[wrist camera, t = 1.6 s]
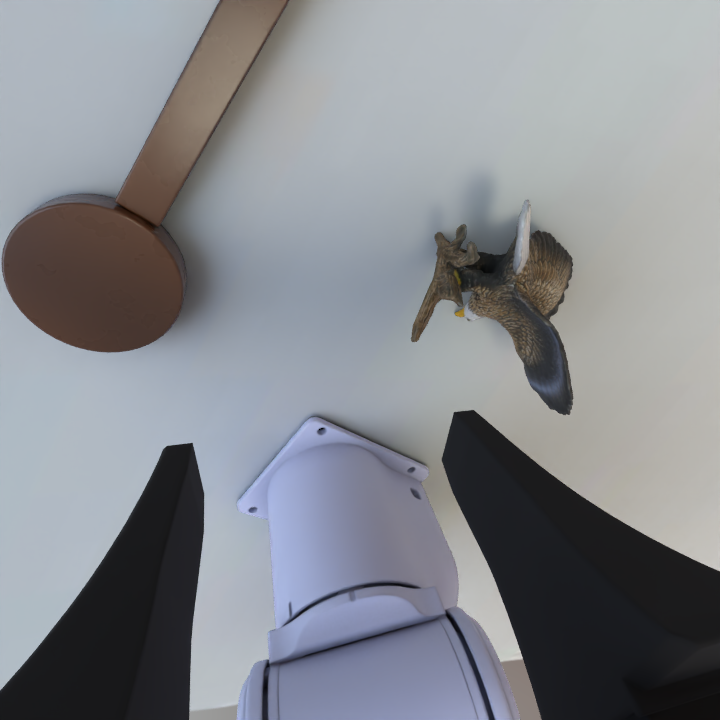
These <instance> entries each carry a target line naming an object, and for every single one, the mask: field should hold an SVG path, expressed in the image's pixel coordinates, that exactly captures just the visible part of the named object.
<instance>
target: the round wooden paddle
mask: <svg viewBox="0 0 720 720" xmlns="http://www.w3.org/2000/svg"><path fill="white" fill-rule="evenodd" d="M288 2H289V0H220V1H219V3H218V5H217V7H216V9H215V11H214V12H213V14H212V16H211V18H210V20H209V22H208V24H207V26H206V28H205V30H204V32H203V33H202V35H201V37H200V39H199V41H198V43H197V45H196V47H195V49H194V51H193V53H192V54H191V56H190V58H189V60H188V62H187V64H186V66H185V68H184V70H183V72H182V74H181V75H180V77H179V79H178V81H177V83H176V85H175V87H174V89H173V91H172V93H171V94H170V96H169V98H168V100H167V102H166V104H165V106H164V108H163V110H162V112H161V114H160V115H159V117H158V119H157V121H156V123H155V125H154V127H153V129H152V131H151V133H150V135H149V136H148V138H147V140H146V142H145V144H144V146H143V148H142V150H141V152H140V154H139V156H138V157H137V159H136V161H135V163H134V165H133V167H132V169H131V171H130V173H129V175H128V176H127V178H126V180H125V182H124V184H123V186H122V188H121V190H120V192H119V194H118V196H117V197H116V199H115V198H111V197H107V196H102V195H96V194H74V195H67V196H63V197H58V198H56V199H53V200H51V201H48V202H46V203H45V204H43V205H41V206H40V207H38V208H37V209H35V210H34V211H33V212H31V213H30V214H28V215H27V216H26V217H25V218H23V219H22V220H21V221H20V222H18V224H17V225H16V226H15V227H14V228H13V229H12V231H11V232H10V234H9V236H8V238H7V239H6V242H5V245H4V248H3V253H2V272H3V277H4V281H5V284H6V287H7V289H8V292H9V294H10V295H11V297H12V299H13V301H14V302H15V304H16V305H17V307H18V308H19V309H20V311H21V312H22V313H23V314H24V315H25V316H26V317H27V318H28V319H29V320H30V321H31V322H32V323H33V324H34V325H36V326H37V327H38V328H40V329H41V330H42V331H44V332H45V333H47V334H49V335H50V336H52V337H54V338H55V339H58V340H60V341H62V342H64V343H66V344H69V345H72V346H75V347H78V348H82V349H86V350H91V351H97V352H123V351H130V350H134V349H138V348H141V347H143V346H146V345H148V344H150V343H152V342H154V341H156V340H157V339H159V338H160V337H161V336H163V335H164V334H165V333H166V332H167V331H168V330H169V329H170V328H171V327H172V326H173V324H174V323H175V321H176V320H177V318H178V316H179V314H180V311H181V308H182V305H183V300H184V296H185V291H186V285H187V275H186V268H185V264H184V260H183V257H182V255H181V253H180V250H179V249H178V247H177V245H176V243H175V242H174V240H173V239H172V237H171V236H170V235H169V234H168V232H167V231H166V230H165V229H164V228H163V227H162V226H161V225H160V224H161V223H162V221H163V219H164V218H165V216H166V214H167V212H168V211H169V209H170V207H171V205H172V204H173V202H174V200H175V198H176V197H177V195H178V193H179V191H180V190H181V188H182V186H183V184H184V183H185V181H186V179H187V178H188V176H189V174H190V172H191V171H192V169H193V167H194V165H195V164H196V162H197V160H198V158H199V157H200V155H201V153H202V151H203V150H204V148H205V146H206V145H207V143H208V141H209V139H210V138H211V136H212V134H213V132H214V131H215V129H216V127H217V125H218V124H219V122H220V120H221V118H222V117H223V115H224V113H225V112H226V110H227V108H228V106H229V105H230V103H231V101H232V99H233V98H234V96H235V94H236V92H237V91H238V89H239V87H240V85H241V84H242V82H243V80H244V78H245V77H246V75H247V73H248V72H249V70H250V68H251V66H252V65H253V63H254V61H255V59H256V58H257V56H258V54H259V52H260V51H261V49H262V47H263V45H264V44H265V42H266V40H267V39H268V37H269V35H270V33H271V32H272V30H273V28H274V26H275V25H276V23H277V21H278V19H279V18H280V16H281V14H282V12H283V11H284V9H285V7H286V6H287V4H288Z"/></svg>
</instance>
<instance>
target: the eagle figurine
mask: <svg viewBox="0 0 720 720" xmlns="http://www.w3.org/2000/svg"><path fill="white" fill-rule="evenodd" d="M530 215H531V205H530V202H529V200H525V202H524V204H523V208H522V211H521V213H520V216H519V219H518V223H517V231H516V238H515V239H514V241H513V243H512V244H511V247H510V248H509V250H508V253H507V254H503V255H493V254H487V253H484V252H477V247H476V245H475V243H473V242H471V241H470V242H468V244H467V250H464V249H460V247H461V244H462V243H463V241H464V240H465V238H466V225H465V224H463V225H461V226H459V227H458V228H457V231H456V239H455V240H454V241H452V242H451V244H450V242H449V241H447V240H446V239H445V238H444V236H443V235H442V234H441V233H440V232H438V233H436V234H435V241H436V243H437V246H438V249H437V253H436V255H437V262H436V268H435V273H434V277H433V280H432V282H431V284H430V286H429V289H428V291H427V293H426V295H425V298H424V300H423V303H422V305H421V308H420V310H419V312H418V315H417V317H416V320H415V322H414V324H413V329H412V337H411V341H412V342H417V341H418V340H419V338H420V335H421V334H422V332H423V330H424V329H425V327H426V325H427V324H428V321H429V319H430V317H431V316H432V313H433V311H434V307H435V305H436V304H437V303H438V302H439V301H440V300H441V299H446V300H451V301H454V302H455V303H456V304H457V305H458V306H460V307H462V306H463V300H462V294H461V292H467V291H473V293H472V295H471V297H470V300H469V302H468V303H467V304H466V305H465V306H464V308H463V309H462V310H460V311H458V312H455V315H456V316H459V317H465V318H467V320H468V321H473V320H476V319H480V318H482V317H488V318H492V319H495V320H497V321H498V322H499V323H500V324H501V325H502V326H503V327H504V328H506V330H507V331H508V332H509V334H510V335H511V337H512V339H513V342H514V345H515V349H516V352H517V354H518V355H519V357H520V358H521V360H522V362H523V363H524V369H525V373H526V376H527V379H528V381H529V383H530V385H531V387H532V388H533V390H535V391H536V392H537V393H538V394H539V396H540V397H541V398H542V400H543V401H544V402H545V403H546V404H547V405H548V407H549V408H550V409H553V410H556V411H557V412H558V413H559V414H563V415H566V414H568V415H570V410H571V409H572V406H571V405H573V401H572V400H573V394H572V393H573V392H572V386H571V379H570V374H569V370H568V361H567V358H566V352H565V350H564V345H563V343H562V341H561V339H560V336H559V334H558V331H557V330H556V329H555V327H554V325H553V324H552V323H551V322H550V321H549V319H550V316H553V315H555V314H556V313H557V311H558V305H559V304H561V303H562V302H563V301H564V291H565V290H566V289H567V288H568V286H569V284H568V281H569V280H570V279H571V277H572V266H573V263H572V257H571V256H570V255H569V253H568V252H567V250H564V248H563V247H562V246H561V245H560V243H557V242H556V240H555V238H554V237H552V235H551V234H550V233H546V232H540V231H539V230H538V231H535V233H532V234H531V239H529V231H530ZM459 249H460V250H459ZM464 267H466V268H468V269H464Z"/></svg>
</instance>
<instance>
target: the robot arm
mask: <svg viewBox="0 0 720 720" xmlns="http://www.w3.org/2000/svg"><path fill="white" fill-rule="evenodd" d="M320 428H324V429H323V430H318V429H320ZM442 462H443V465H444V468H445V471H446V474H447V477H448V480H449V483H450V486H451V489H452V491H453V494H454V496H455V498H456V500H457V502H458V504H459V506H460V508H461V510H462V512H463V514H464V516H465V518H466V520H467V522H468V525H469V527H470V529H471V531H472V533H473V535H474V537H475V539H476V541H477V543H478V545H479V547H480V549H481V551H482V553H483V555H484V557H485V559H486V561H487V563H488V565H489V568H490V570H491V572H492V574H493V577H494V579H495V582H496V584H497V587H498V590H499V592H500V595H501V597H502V600H503V603H504V605H505V608H506V611H507V613H508V616H509V619H510V622H511V625H512V628H513V630H514V633H515V636H516V639H517V642H518V645H519V648H520V651H521V654H522V657H523V660H524V663H525V666H526V669H527V672H528V675H529V678H530V682H531V684H532V688H533V691H534V694H535V698H536V701H537V705H538V708H539V712H540V715H541V719H542V720H720V571H717V570H715V569H713V568H711V567H708V566H706V565H704V564H701V563H699V562H697V561H695V560H693V559H691V558H689V557H687V556H685V555H683V554H681V553H679V552H677V551H675V550H673V549H671V548H669V547H667V546H665V545H663V544H661V543H659V542H657V541H655V540H653V539H651V538H650V537H648V536H646V535H644V534H642V533H641V532H639V531H637V530H635V529H634V528H632V527H630V526H628V525H627V524H625V523H623V522H621V521H620V520H618V519H616V518H615V517H613V516H611V515H610V514H608V513H606V512H605V511H603V510H602V509H600V508H599V507H597V506H596V505H594V504H592V503H591V502H589V501H588V500H586V499H585V498H583V497H582V496H580V495H579V494H577V493H576V492H575V491H573V490H572V489H570V488H569V487H567V486H566V485H565V484H563V483H562V482H561V481H559V480H558V479H557V478H555V477H554V476H553V475H551V474H550V473H549V472H547V471H546V470H545V469H543V468H542V467H541V466H540V465H538V464H537V463H536V462H535V461H533V460H532V459H531V458H530V457H528V456H527V455H526V454H525V453H524V452H522V451H521V450H520V449H519V448H518V447H516V446H515V445H514V444H513V443H512V442H510V441H509V440H508V439H507V438H506V437H505V436H503V435H502V434H501V433H500V432H499V431H498V430H496V429H495V428H494V427H493V426H492V425H491V424H489V423H488V422H487V421H486V420H485V419H484V418H482V417H481V416H480V415H479V414H478V413H476V412H475V411H474V410H469V411H461V412H454V415H453V419H452V423H451V426H450V430H449V434H448V438H447V442H446V445H445V449H444V453H443V457H442ZM428 475H429V470H428V468H427V467H426V466H425V465H423V464H420V463H418V462H416V461H414V460H412V459H409V458H407V457H405V456H403V455H401V454H398V453H396V452H394V451H392V450H389V449H387V448H385V447H383V446H381V445H378V444H376V443H374V442H372V441H369V440H367V439H365V438H363V437H361V436H358V435H356V434H354V433H352V432H349V431H347V430H345V429H343V428H341V427H338V426H336V425H334V424H332V423H329V422H327V421H325V420H323V419H321V418H318V417H312V418H309V419H308V420H307V421H306V422H305V423H304V424H303V425H302V426H301V428H300V429H299V430H298V431H297V432H296V433H295V435H294V436H293V437H292V438H291V439H290V440H289V442H288V443H287V444H286V445H285V446H284V448H283V449H282V450H281V451H280V452H279V453H278V455H277V456H276V457H275V458H274V459H273V460H272V462H271V463H270V464H269V465H268V466H267V468H266V469H265V470H264V471H263V472H262V473H261V475H260V476H259V477H258V478H257V479H256V480H255V482H254V483H253V484H252V485H251V486H250V488H249V489H248V490H247V491H246V492H245V493H244V495H243V496H242V497H241V498H240V499H239V500H238V502H237V509H238V511H240V512H242V513H245V514H249V515H252V516H256V517H259V518H263V519H266V520H269V531H270V546H271V562H272V577H273V592H274V607H275V622H276V629H274V630H271V631H269V632H268V647H269V660H263V661H259V662H257V663H255V664H254V665H253V667H252V669H251V671H250V675H249V676H248V678H247V679H246V681H245V683H244V684H243V686H242V689H241V692H240V697H239V703H238V712H237V720H521V719H520V715H519V712H518V709H517V705H516V702H515V699H514V696H513V693H512V691H511V688H510V685H509V682H508V680H507V677H506V675H505V672H504V670H503V667H502V665H501V662H500V660H499V658H498V656H497V654H496V652H495V650H494V648H493V646H492V644H491V642H490V640H489V638H488V636H487V635H486V633H485V632H484V630H483V629H482V627H481V626H480V625H479V623H478V622H477V621H476V620H475V619H473V618H472V617H470V616H469V615H467V614H466V613H465V612H464V611H463V610H462V609H461V608H459V607H456V606H457V601H458V589H459V586H458V572H457V567H456V563H455V560H454V557H453V555H452V553H451V550H450V548H449V546H448V543H447V541H446V539H445V537H444V534H443V532H442V530H441V527H440V525H439V523H438V520H437V518H436V516H435V514H434V511H433V509H432V507H431V504H430V502H429V500H428V497H427V495H426V493H425V491H424V488H423V486H422V484H421V482H422V481H423V480H424V479H425V478H427V476H428ZM203 534H204V491H203V487H202V482H201V478H200V474H199V469H198V465H197V460H196V456H195V452H194V447H193V443H188V444H180V445H171V446H167V447H166V448H164V449H163V451H162V454H161V456H160V458H159V461H158V463H157V465H156V467H155V469H154V471H153V473H152V476H151V478H150V480H149V482H148V483H147V485H146V487H145V489H144V491H143V493H142V495H141V497H140V499H139V500H138V502H137V504H136V506H135V508H134V509H133V511H132V513H131V515H130V516H129V518H128V520H127V522H126V524H125V525H124V527H123V529H122V530H121V532H120V533H119V535H118V537H117V538H116V540H115V541H114V543H113V545H112V546H111V548H110V549H109V551H108V552H107V554H106V556H105V557H104V559H103V560H102V562H101V563H100V565H99V566H98V568H97V569H96V571H95V572H94V574H93V575H92V577H91V578H90V579H89V581H88V582H87V584H86V585H85V587H84V588H83V589H82V591H81V592H80V593H79V595H78V596H77V598H76V599H75V600H74V602H73V603H72V604H71V606H70V607H69V608H68V610H67V611H66V612H65V614H64V615H63V616H62V617H61V619H60V620H59V621H58V622H57V624H56V625H55V626H54V628H53V629H52V630H51V631H50V633H49V634H48V635H47V636H46V638H45V639H44V640H43V642H42V643H41V644H40V645H39V646H38V648H37V649H36V650H35V651H34V652H33V654H32V655H31V656H30V657H29V658H28V660H27V661H26V662H25V663H24V664H23V665H22V667H21V668H20V669H19V670H18V671H17V672H16V673H15V675H14V676H13V677H12V678H11V679H10V680H9V681H8V682H7V684H6V685H5V686H4V687H3V688H2V689H1V690H0V720H189V702H190V665H191V638H192V626H193V616H194V608H195V600H196V592H197V584H198V576H199V567H200V559H201V551H202V542H203Z"/></svg>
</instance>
